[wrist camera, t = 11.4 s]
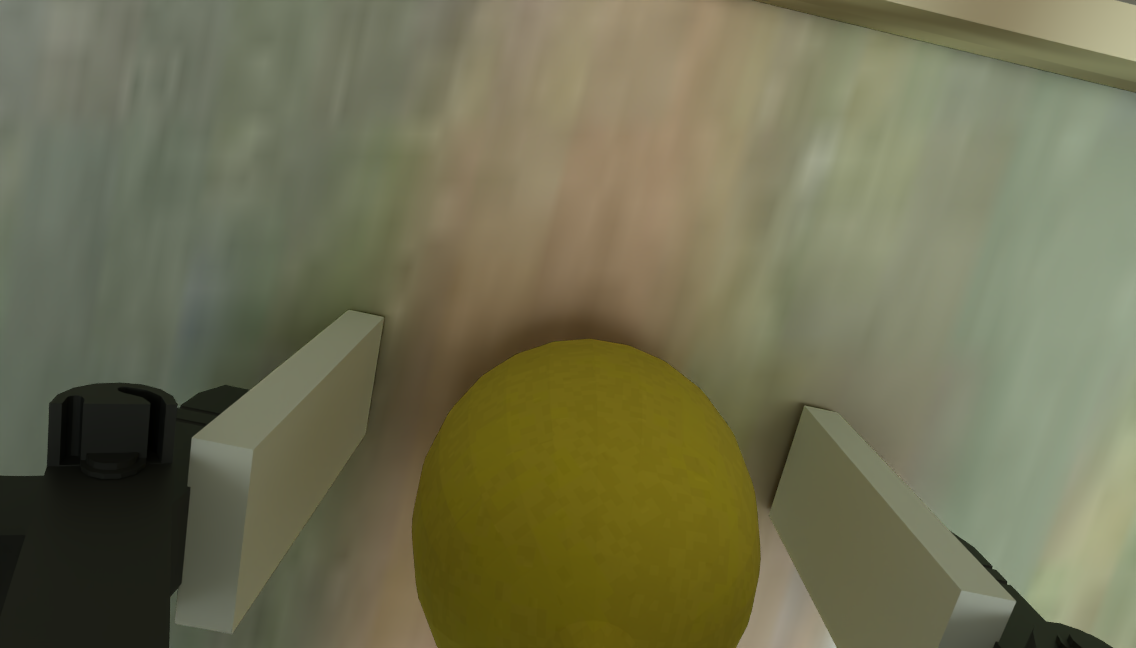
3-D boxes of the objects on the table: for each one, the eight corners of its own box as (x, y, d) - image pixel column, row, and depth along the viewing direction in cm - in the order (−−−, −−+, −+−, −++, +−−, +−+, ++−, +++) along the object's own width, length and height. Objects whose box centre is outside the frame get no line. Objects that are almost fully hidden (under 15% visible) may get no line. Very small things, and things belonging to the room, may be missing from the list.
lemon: (694, 534, 17) (802, 882, 9) (453, 524, 17) (354, 867, 9) (718, 301, 15) (872, 477, 8) (455, 289, 15) (339, 453, 7)
